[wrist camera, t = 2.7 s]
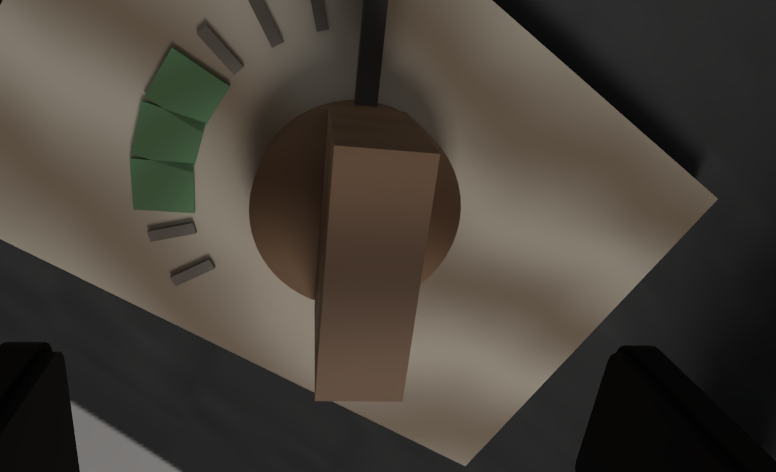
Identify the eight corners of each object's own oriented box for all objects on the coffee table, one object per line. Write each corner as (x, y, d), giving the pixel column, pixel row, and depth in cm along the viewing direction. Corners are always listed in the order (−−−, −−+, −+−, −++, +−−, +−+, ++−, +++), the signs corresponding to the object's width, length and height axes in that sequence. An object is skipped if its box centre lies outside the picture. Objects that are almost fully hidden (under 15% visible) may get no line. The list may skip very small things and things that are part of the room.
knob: (435, 290, 21) (482, 402, 15) (251, 283, 20) (226, 400, 14) (483, -2, 17) (572, -1, 11) (257, -31, 16) (225, -47, 10)
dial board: (161, -278, 15) (143, -309, 14) (694, 187, 23) (721, 200, 21) (-61, 181, 19) (-94, 197, 18) (457, 442, 27) (466, 469, 26)
